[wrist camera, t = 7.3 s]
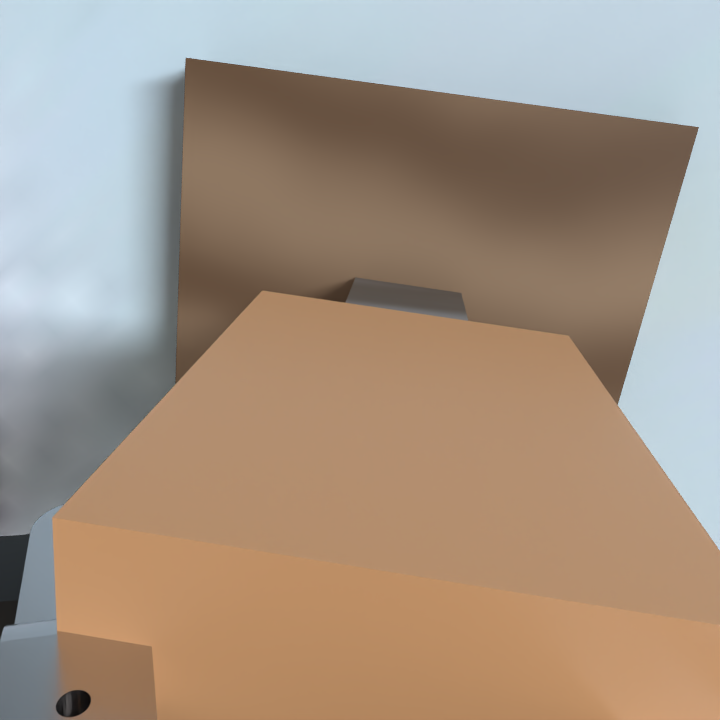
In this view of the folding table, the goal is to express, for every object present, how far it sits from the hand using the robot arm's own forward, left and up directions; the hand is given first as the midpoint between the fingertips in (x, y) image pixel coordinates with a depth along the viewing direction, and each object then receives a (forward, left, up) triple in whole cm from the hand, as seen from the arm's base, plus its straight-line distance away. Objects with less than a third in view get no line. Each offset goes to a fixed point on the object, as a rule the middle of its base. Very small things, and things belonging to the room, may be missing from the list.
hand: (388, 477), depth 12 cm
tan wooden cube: (0, 0, -1) cm, 1 cm away
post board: (0, 0, -10) cm, 10 cm away
